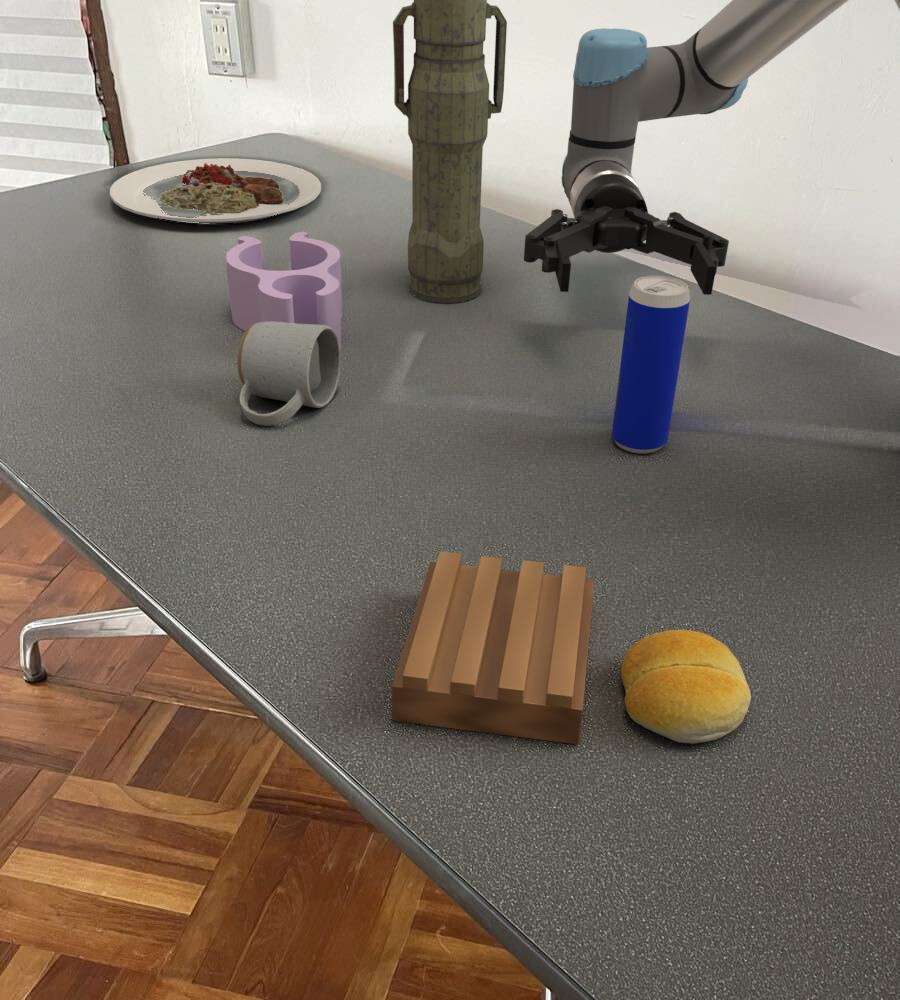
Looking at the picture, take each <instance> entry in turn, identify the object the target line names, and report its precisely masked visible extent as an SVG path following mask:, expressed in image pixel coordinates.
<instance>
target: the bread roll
mask: <svg viewBox="0 0 900 1000" xmlns="http://www.w3.org/2000/svg"><path fill="white" fill-rule="evenodd" d="M620 673H621V680H622V683H623V687H624V690H625V696H624V705H625V709H626V711H627V714H628V715H629V717H630V718H631V720H633V721H634V723H637V724H638V725H640V726H642V727H643V728H644V729H647V730H649V731H651V732H653V733H656V734H658V735H660V736H662V737H665V738H667V739H670V740H672V741H674V742H677V743H683V744H684V743H685V744H701V743H707V742H712V741H716V740H719V739H721V738H723V737H724V736H726V735H728V734H731V732H733V731H734V730H736V729H737V728H738V727H740V725H741V724H742V723H743V721H744V720H745V717H746V715H747V713H748V710H749V707H750V704H751V699H752V695H751V694H752V693H751V690H750V687H749V685H748V683H747V679H746V677H745V674H744V671H743V669H742V667H741V665H740V662H739V660H738V659H737V657H736V656H735V655H734V654H733V652H732V651H731V650H730V648H728V646H727V645H726V644H724V643H723V642H721V641H720V640H718V639H716V638H714V637H713V636H710V635H708V634H706V633H704V632H702V631H696V630H688V629H670V630H664V631H660V632H656V633H652V634H650V635H647V636H645V637H642V638H641V639H639V640H638V641H636V642H635V643H634V644H633V645H631V646H630V648H629V649H628V650H627V652H626V653H625V656H624V658H623V660H622V664H621V667H620Z"/></svg>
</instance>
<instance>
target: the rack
mask: <svg viewBox="0 0 900 1000" xmlns="http://www.w3.org/2000/svg"><path fill="white" fill-rule="evenodd" d="M462 555H463V554H462V553H460V552H451V551H443V550H440V551H439V553H438V556H437V560H436V561H430V562H429V565H428V567H427V571H426V575H425V578H424V581H423V584H422V588H421V591H420V593H419V597H418V600H417V602H416V603H417V604H416V605H415V610H414V613H413V616H412V620H411V623H410V627H409V628H408V632H407V635H406V640H405V642H404V645H403V649H402V652H401V655H400V659H399V661H398V665H397V667H396V668H397V669H396V672H395V674H394V679H393V682H392V684H391V716H392V717H391V718H392V719H391V720H392V722H399V723H400V722H401V723H408V724H414V725H423V726H431V727H438V728H447V729H453V730H461V731H469V732H475V733H476V732H477V733H486V734H493V735H500V736H509V737H516V738H524V739H530V740H531V739H533V740H541V741H548V742H556V743H563V744H571V745H578V744H579V743H580V742H579V741H580V735H581V734H580V733H581V726H582V718H583V710H584V699H585V690H586V678H587V667H588V666H587V665H588V657H589V656H588V655H589V646H590V636H591V635H590V634H591V624H592V623H591V622H592V614H593V613H592V611H593V602H594V600H593V599H594V590H595V579H591V578H586V574H587V573H586V572H587V567H586V566H580V565H570V564H563V568H562V575H555V574H548V573H547V574H546V573H544V571H545V562H543V561H542V562H541V561H532V560H524V559H523V560H521V564H520V569H519V570H511V569H503V561H504V559H503V557H494V556H487V555H486V556H485V555H481V556H480V559H479V561H478V566H475V565H465V564H462V557H463V556H462Z"/></svg>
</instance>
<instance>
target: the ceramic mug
mask: <svg viewBox="0 0 900 1000" xmlns="http://www.w3.org/2000/svg"><path fill="white" fill-rule="evenodd" d="M341 360H342V359H341V351H340V346H339V342H338V337H337V335H336V333H335V332H334V330H333V329H332V328H331V327H329V326H326V325H314V324H297V323H285V322H259V323H255V324H253V325H251V326H250V327H249V328H248V329H247V330H246V331H244V332H243V335H242V337H241V339H240V341H239V345H238V348H237V355H236V369H237V374H238V378H239V380H240V382H241V384H242V388H241V389H240V393H239V406H240V408H241V410H242V412H243V414H244V416H245V417H246V419H248V420H249V421H250V422H252V423H254V424H255V425H257V426H263V427H273V426H276V425H277V426H278V425H280V424H283V423H285V422H287V421H289V420H290V419H291V418H292V417H294V416H295V414H296V413H297V412H299V410H300V409H301V407H302V406H304V407H310V408H316V409H321V408H323V407H325V406H327V405H328V404H329V403H330V402H331V401H332V399H333V397H334V395H335V394H336V391H337V388H338V384H339V380H340V376H341V366H342V363H341ZM252 394H253V395H255V396H258V397H260V398H263V399H270V400H276V401H281V402H284V403H285V402H286V404H284V405H283V406H282V407H280V408H279V409H277V410H275V411H271V412H268V413H257V412H256V411H255V410H253V409H250V407H249V401H250V398H251V396H252Z"/></svg>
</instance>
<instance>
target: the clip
mask: <svg viewBox="0 0 900 1000" xmlns="http://www.w3.org/2000/svg"><path fill="white" fill-rule="evenodd" d="M308 233H309V232H307V231H296V232H295V233H294V234H292V235H290V237H289V240H288V241H289V253H290V254H289V255H290V270H269V269H265V267H264V265H265V264H264V255H263V253H264V252H263V243H262V240H260V239H259V238H256V237H253V236H252V237H251V236H248V235H241V236H239V237H238V238H237V244H236V245H235V246H233V247H232V248H230V249H229V250H228V251H227V253H226V255H225V263H226V273H227V281H228V282H227V283H228V291H229V301H230V310H231V319H232V322H233V325H235V326H236V327H237V328H238V329H239V330H242V331H244V332H245V331H246V330H247V329H248V328H249V327H250V326H251V325H253V324H255V323H259V322H285V323H297V324H314V325H326V326H329V327H331V328H332V329H333V330H334V332H335V333H336V335H337V337H338V342H339V346H340V352H341V350H342V348H343V345H342V344H343V341H342V319H343V317H344V315H343V314H344V313H343V312H344V311H343V292H342V291H343V290H342V266H341V265H342V263H341V262H342V261H341V251H340V250H339V248H337V247H336V246H335V245H333V244H331V243H329V242H327V241H324V240H320V239H315V238H312V237H311V238H310V237H309V235H308Z"/></svg>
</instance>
